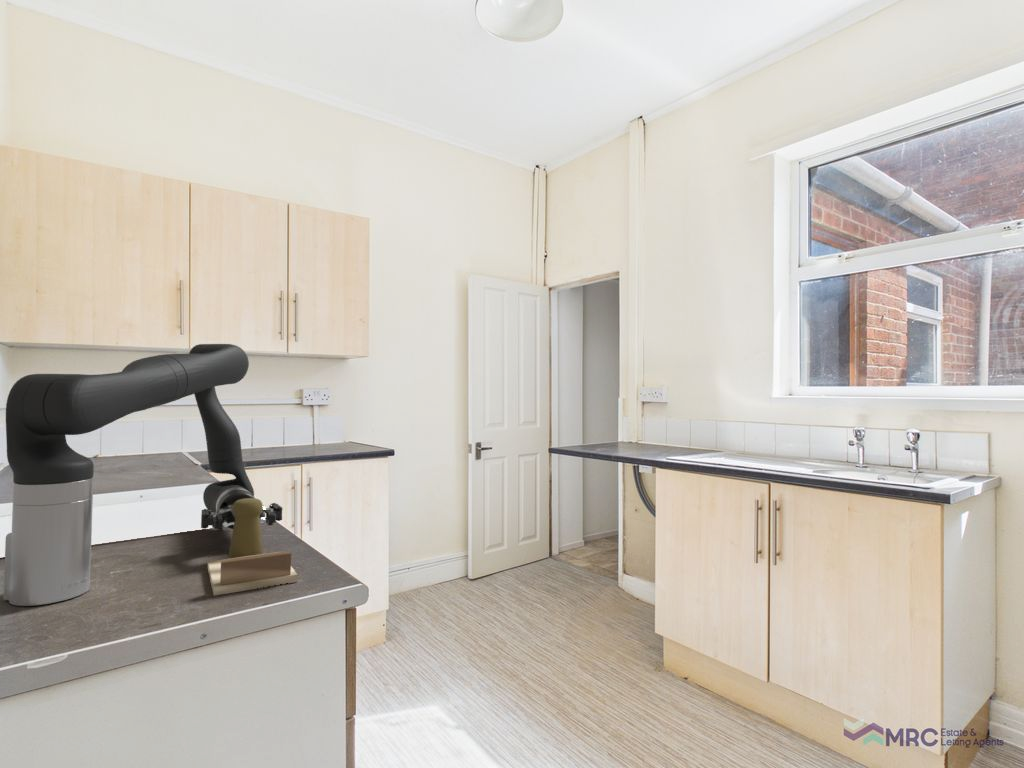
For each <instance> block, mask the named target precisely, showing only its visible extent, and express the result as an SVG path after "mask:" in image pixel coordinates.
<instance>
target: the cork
mask: <svg viewBox="0 0 1024 768" xmlns="http://www.w3.org/2000/svg"><path fill="white" fill-rule="evenodd" d="M262 510H263V502H262V501H261V500H260V499H259V498H255V497H254V498H245V499H240V500H237V501H236V502H234V504H233V506H232V514H233V516H234V517H235V522H234V528H233V529H232V534H231V540H230V545H229V553H228V557H227V559H229V558H237V557H244V556H252V555H259V554H265V553H264V546H263V539H262V537H263V536H262V530H261V523H260V519H259V516H260V514H261V513H262Z"/></svg>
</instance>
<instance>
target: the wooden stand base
mask: <svg viewBox="0 0 1024 768" xmlns="http://www.w3.org/2000/svg"><path fill="white" fill-rule="evenodd" d="M228 558H229V557H228ZM228 558H223V559H215V560H214V559H213V560H210V561H207V571H208V572H207V573H208V576H209V582H210V585H211V589H212V594H213V597H214V596H219V595H225V594H233V593H237V592H244V591H249V590H250V591H251V590H257V588H258V589H264V588H267V587H268V586H270V587H275V586H274V585H276V586H281V585H280V584H282V585H287V584H286V583H288V584H293V583H298V573H297V572H296V570H295V569H294V568H293V566H292V565H291V564H292V563H291V562H292V552H291V551H290V550H286V551H275V552H269V553H264V554H259V555H252V556H244V557H237V558H229V559H228ZM263 587H264V588H263ZM268 588H269V587H268Z"/></svg>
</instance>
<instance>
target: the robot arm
mask: <svg viewBox="0 0 1024 768" xmlns="http://www.w3.org/2000/svg"><path fill="white" fill-rule="evenodd" d="M249 365H250V362H249V358H248V355H247V353H246V352H245V350H244V349H243V348H241V347H240V346H238V345H236V344H233V343H200V344H196V345H194V346H193V347H192V348H191V349H190V350H189V352H188V353H167V354H157V355H153V356H152V355H151V356H147V357H143V358H139V359H136V360H133V361H132V362H130V363H128V364H127V365H126V366H125V367H124V368H123V369H122V370H121V371H118V372H113V373H112V372H111V373H103V374H83V373H33V374H32V373H31V374H28V375H25V376H23V377H21V378H19V379H18V380H16V382H14V384H13V385H12V387H11V389H10V390H9V393H8V395H7V400H6V404H5V433H6V434H5V436H6V439H5V440H6V459H7V462H8V464H9V467H10V469H11V471H12V476H13V477H12V478H13V481H12V482H13V483H12V484H13V485H12V486H13V487H12V513H11V515H12V517H11V518H12V519H11V532H8V533H7V534H6V536H5V541H4V542H5V545H4V546H5V547H4V571H3V573H4V575H3V601H8V602H9V604H11V605H13V606H19V607H20V606H21V607H26V606H27V607H29V606H30V607H31V606H41V605H42V606H43V605H48V604H53V603H58V602H62V601H67V600H69V599H73V598H76V597H79V596H81V595H83V594H85V593H87V592H88V591H89V590H90V587H91V585H90V584H91V563H92V562H91V559H92V532H93V530H92V529H93V503H94V501H93V500H94V497H93V495H94V494H93V493H94V471H95V470H94V469H95V468H94V466H95V465H94V462H93V460H92V459H91V458H90V457H87V456H85V455H82V454H81V453H78V452H77V451H75V450H74V449H73V448H72V447H70V446H69V444H68V443H67V436H77V435H85V434H88V433H89V434H90V433H91V432H93V431H97V430H99V429H101V428H103V427H106V426H107V425H109V424H111V423H114V422H115V421H117V420H120V419H122V418H124V417H126V416H128V415H131V414H133V413H137V412H142V411H146V410H148V409H149V410H150V409H152V408H156V407H159V406H164V405H166V404H169V403H172V402H175V401H178V400H180V399H184V398H186V397H189V396H192V395H194V398H195V401H196V406H197V408H198V411H199V415H200V417H201V421H202V424H203V429H204V433H205V434H204V435H205V440H206V441H205V442H206V449H207V450H206V451H207V459H208V467H209V470H210V471H211V472H212V473H214V474H222V475H223V474H224V475H225V474H226V475H232V476H233V477H235V478H233V479H226V480H220V481H216V482H215V481H214V482H212V483H210V484H208V485H206V487H205V489H204V491H203V496H202V497H203V498H202V499H203V503H204V506H205V508H204V509H201V514H200V517H201V518H200V519H201V521H200V528H201V529H205V530H206V529H207V528H209V526H212V527H211V528H212V529H215V530H217V531H218V532H221V531H224V530H223V528H228V529H232V530H233V528H234V522H235V517H234V516H233V514H232V506H233V504H234V502H236V501H237V500H240V499H245V498H255V490H254V488H253V484H252V483H251V480H250V478H249V476H248V474H247V472H246V468H245V466H244V465H245V464H244V461H243V460H244V459H243V451H242V443H241V436H240V432H239V430H238V428H237V426H236V425H235V423H234V422H233V420H232V419H231V417H230V416H229V415H228V413H227V412H226V410H225V409H224V408H223V406H222V405H221V403H220V400H219V398H218V395H217V391H216V387H219V386H220V387H221V386H224V385H225V386H226V385H232V384H233V385H234V384H237V383H239V382H240V381H242V380H243V379H244V378H245V376H246V375H247V372H248V371H249ZM262 505H263V504H262ZM259 519H260V524H263V523H266V524H267V526H273V525H274V524H275V523H276V522H277V521H278V522H280V521H282V520H283V507H282V505H279V504H278V503H276V502H272V503H270V505H268V507H266V506H265V505H263V510H262V513H261V514H260V516H259Z"/></svg>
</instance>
